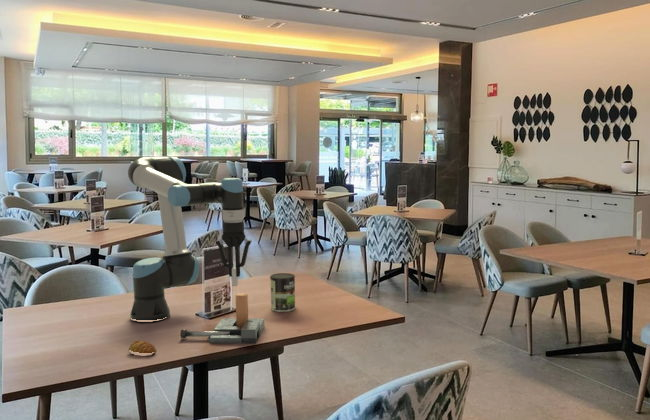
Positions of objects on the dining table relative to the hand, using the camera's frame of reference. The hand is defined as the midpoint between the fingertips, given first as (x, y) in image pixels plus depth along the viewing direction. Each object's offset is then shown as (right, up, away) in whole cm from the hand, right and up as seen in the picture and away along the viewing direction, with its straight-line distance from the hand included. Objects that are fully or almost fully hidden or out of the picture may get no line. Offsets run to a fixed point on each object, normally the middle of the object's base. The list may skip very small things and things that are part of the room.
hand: (235, 285), depth 206 cm
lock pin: (-10, -18, -5) cm, 21 cm away
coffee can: (+15, -14, +31) cm, 38 cm away
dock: (+1, -18, -1) cm, 18 cm away
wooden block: (+2, -18, +2) cm, 18 cm away
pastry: (-28, -21, -17) cm, 39 cm away
